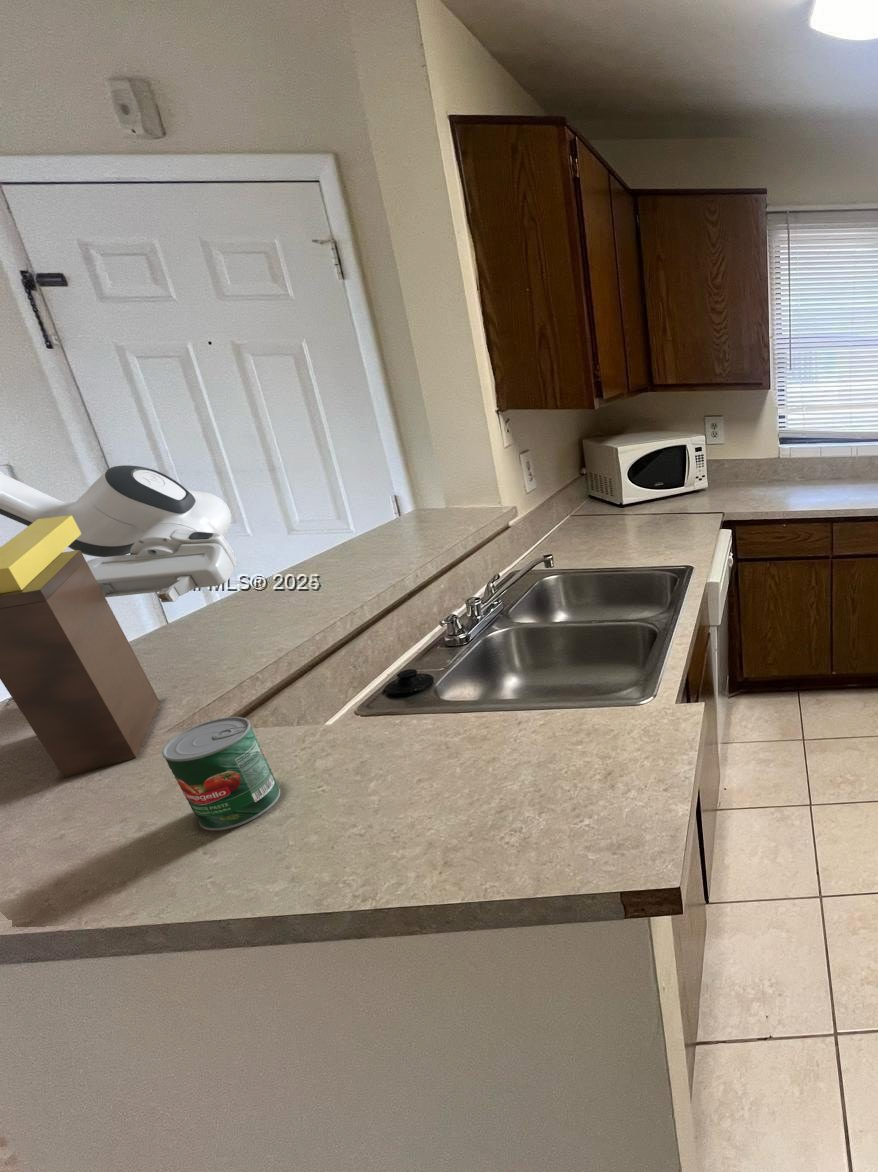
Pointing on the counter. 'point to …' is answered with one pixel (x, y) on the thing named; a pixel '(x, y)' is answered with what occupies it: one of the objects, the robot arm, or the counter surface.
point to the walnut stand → (73, 669)
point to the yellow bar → (34, 550)
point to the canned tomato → (222, 772)
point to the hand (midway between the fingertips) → (127, 602)
